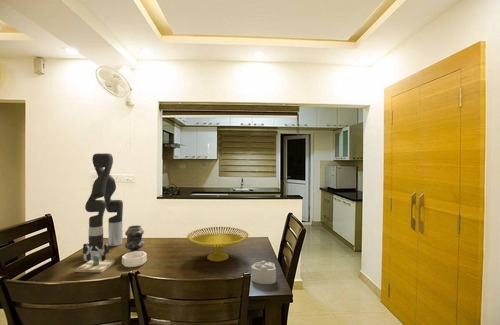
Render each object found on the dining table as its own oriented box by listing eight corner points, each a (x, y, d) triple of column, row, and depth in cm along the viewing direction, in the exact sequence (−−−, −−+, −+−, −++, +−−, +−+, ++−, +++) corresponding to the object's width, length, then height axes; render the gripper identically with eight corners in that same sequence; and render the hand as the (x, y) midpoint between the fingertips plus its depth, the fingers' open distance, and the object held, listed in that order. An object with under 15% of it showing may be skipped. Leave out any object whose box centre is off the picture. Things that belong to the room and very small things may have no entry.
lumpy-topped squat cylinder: (276, 284, 136) (276, 267, 135) (251, 284, 135) (251, 267, 135) (274, 275, 146) (274, 259, 146) (251, 275, 146) (251, 259, 146)
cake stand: (240, 273, 148) (240, 247, 147) (175, 266, 156) (175, 241, 155) (253, 248, 187) (253, 228, 187) (200, 244, 195) (201, 224, 195)
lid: (91, 260, 162) (91, 251, 162) (115, 261, 162) (115, 251, 162) (74, 271, 147) (74, 261, 147) (101, 271, 147) (101, 261, 147)
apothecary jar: (147, 250, 183) (147, 224, 183) (138, 256, 171) (138, 229, 171) (131, 249, 184) (131, 224, 184) (121, 255, 172) (120, 228, 172)
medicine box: (96, 256, 171) (96, 243, 170) (100, 257, 168) (99, 244, 168) (83, 260, 164) (83, 246, 164) (87, 262, 162) (87, 248, 161)
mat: (91, 261, 162) (91, 261, 162) (115, 262, 161) (115, 261, 161) (75, 271, 148) (75, 270, 148) (101, 272, 147) (101, 271, 147)
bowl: (129, 258, 167) (129, 251, 167) (149, 259, 167) (149, 251, 167) (118, 267, 154) (118, 258, 154) (140, 267, 154) (140, 259, 154)
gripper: (111, 232, 158) (111, 258, 158) (88, 231, 158) (88, 258, 158) (104, 235, 150) (104, 263, 150) (79, 235, 150) (79, 263, 151)
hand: (96, 260), depth 154 cm, fingers open, 8 cm apart
